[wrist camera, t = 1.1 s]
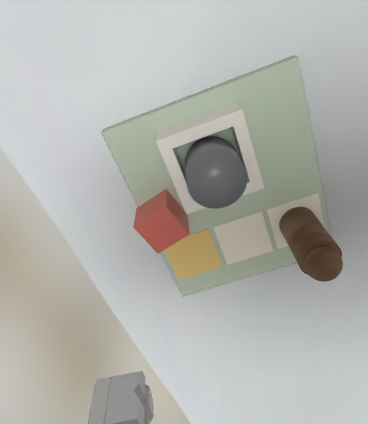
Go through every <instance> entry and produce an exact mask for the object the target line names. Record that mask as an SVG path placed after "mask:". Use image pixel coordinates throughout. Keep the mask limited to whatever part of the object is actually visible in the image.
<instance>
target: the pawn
mask: <svg viewBox="0 0 368 424" xmlns="http://www.w3.org/2000/svg"><path fill="white" fill-rule="evenodd" d="M279 228H280V231H281V233H282V235H283V236H284V238H285V240H286V242H287V244H288V246H289V248H290V250H291V252H292V253H293V255H294V257H295V259H296V261H297V263H298V265H299V267H300V268H301V270H302V271H303V272H304V273H306V274H308V275H310V276H311V277H312V278H313V279H316V280H318V281H330V280H333V279H334V278H336V277H337V276H338V275H339V274H340V272H341V270H342V264H343V263H342V252H341V249H340V248H339V246H338V245H337V244H336V242H335V241H334V240H333V238H332V237H331V236H330V234H329V233H328V232H327V230H326V229H325V228H324V226H323V225H322V224H321V222H320V221H319V220H318V218H317V217H316V216H315V214H314V213H313V212H312V211H311V210H310V209H308V208H306V207H295V208H292V209H290V210H288V211H287V212H285V213H284V214H283V216H282V217H281V219H280V222H279Z"/></svg>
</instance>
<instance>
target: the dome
mask: <svg viewBox="0 0 368 424" xmlns="http://www.w3.org/2000/svg"><path fill="white" fill-rule="evenodd" d="M185 170H186V180H187V188H188V191H189V194H190V195H191V197H192V198H193V199H194V201H196V202H197V203H198V204H200V205H202V206H204V207H207V208H212V209H219V208H224V207H227V206H229V205H231V204H233V203H234V202H236V201H237V200H238V199H239V198H240V197H241V196H242V194H243V193H244V191H245V188H246V185H247V173H246V170H245V168H244V166H243V164H242V162H241V160H240V158H239V156H238V154H237V152H236V150H235V148H234V147H233V145H232V144H231V143H230V142H228V141H227V140H225V139H223V138H221V137H216V136H209V137H205V138H202V139H200V140H198V141H196V142H195V143H194V144H193V145H192V146H191V147H190V148H189V150H188V152H187V154H186V157H185Z"/></svg>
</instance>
